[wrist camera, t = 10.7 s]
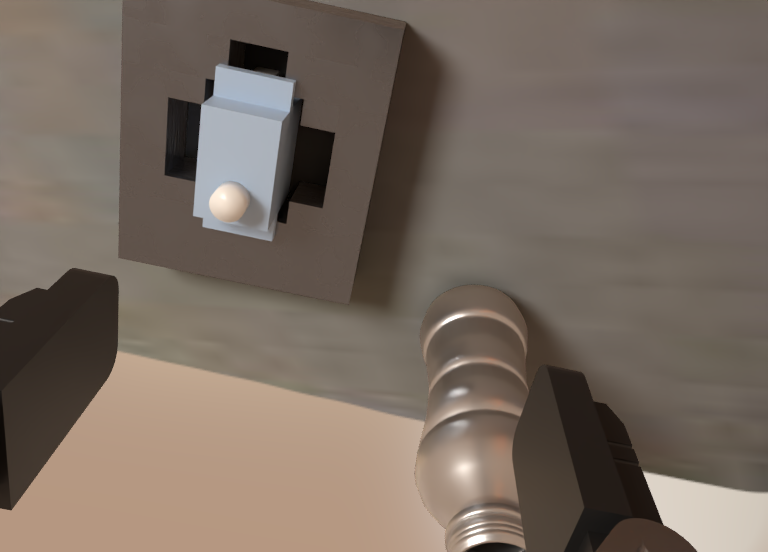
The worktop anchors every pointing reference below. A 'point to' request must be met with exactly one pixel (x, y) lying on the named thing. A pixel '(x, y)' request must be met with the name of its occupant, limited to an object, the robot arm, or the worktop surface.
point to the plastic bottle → (473, 418)
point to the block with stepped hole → (320, 111)
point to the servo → (246, 151)
